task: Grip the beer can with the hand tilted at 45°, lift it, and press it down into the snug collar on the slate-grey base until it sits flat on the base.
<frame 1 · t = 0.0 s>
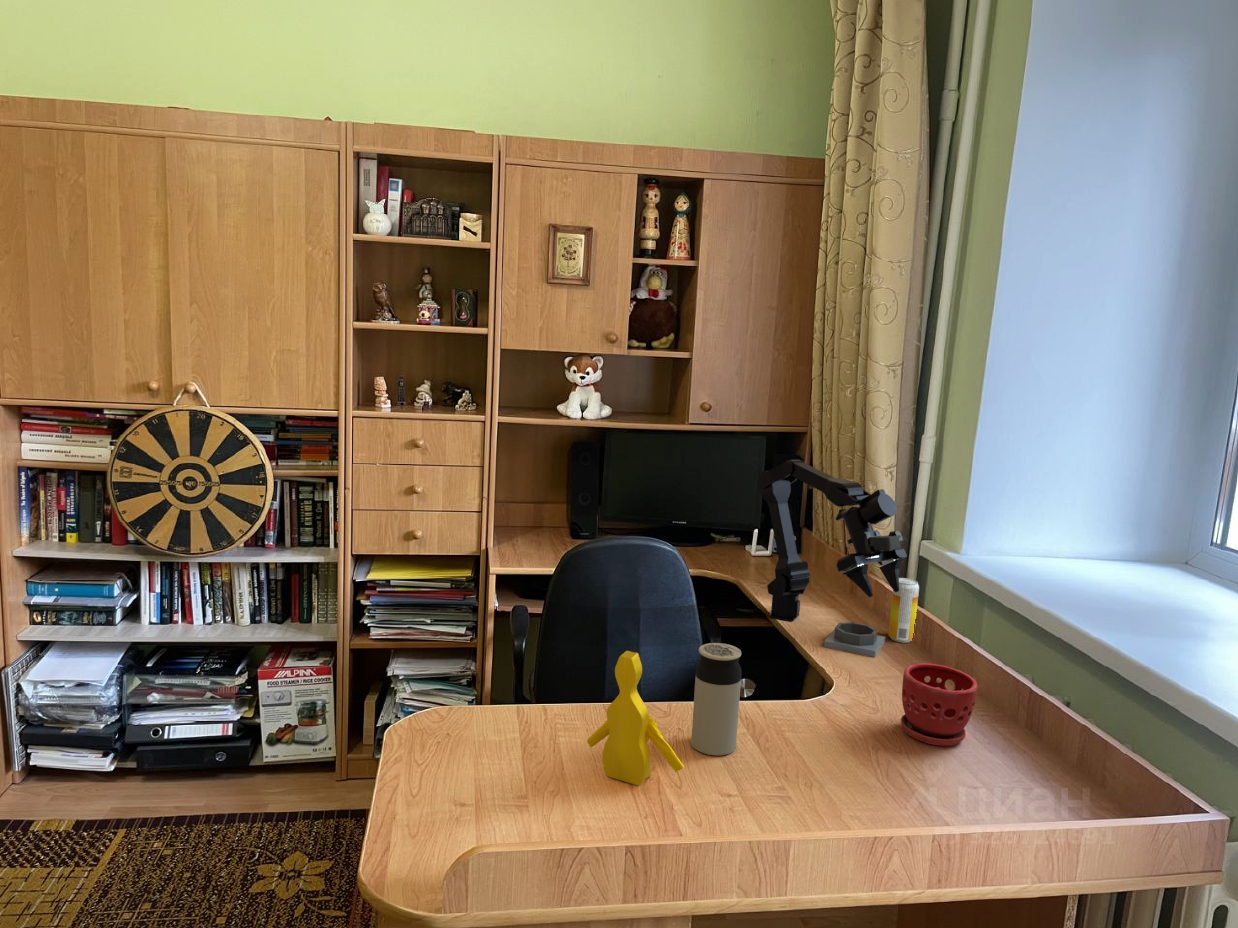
hand: (884, 594, 205), 15 cm above the table, tool tilted 35°, fingers open, 9 cm apart
beer can: (900, 639, 219), on the table
plant pot: (933, 736, 166), on the table
figure statuette: (628, 778, 145), on the table
travel mug: (713, 747, 157), on the table
collar dock: (854, 644, 213), on the table
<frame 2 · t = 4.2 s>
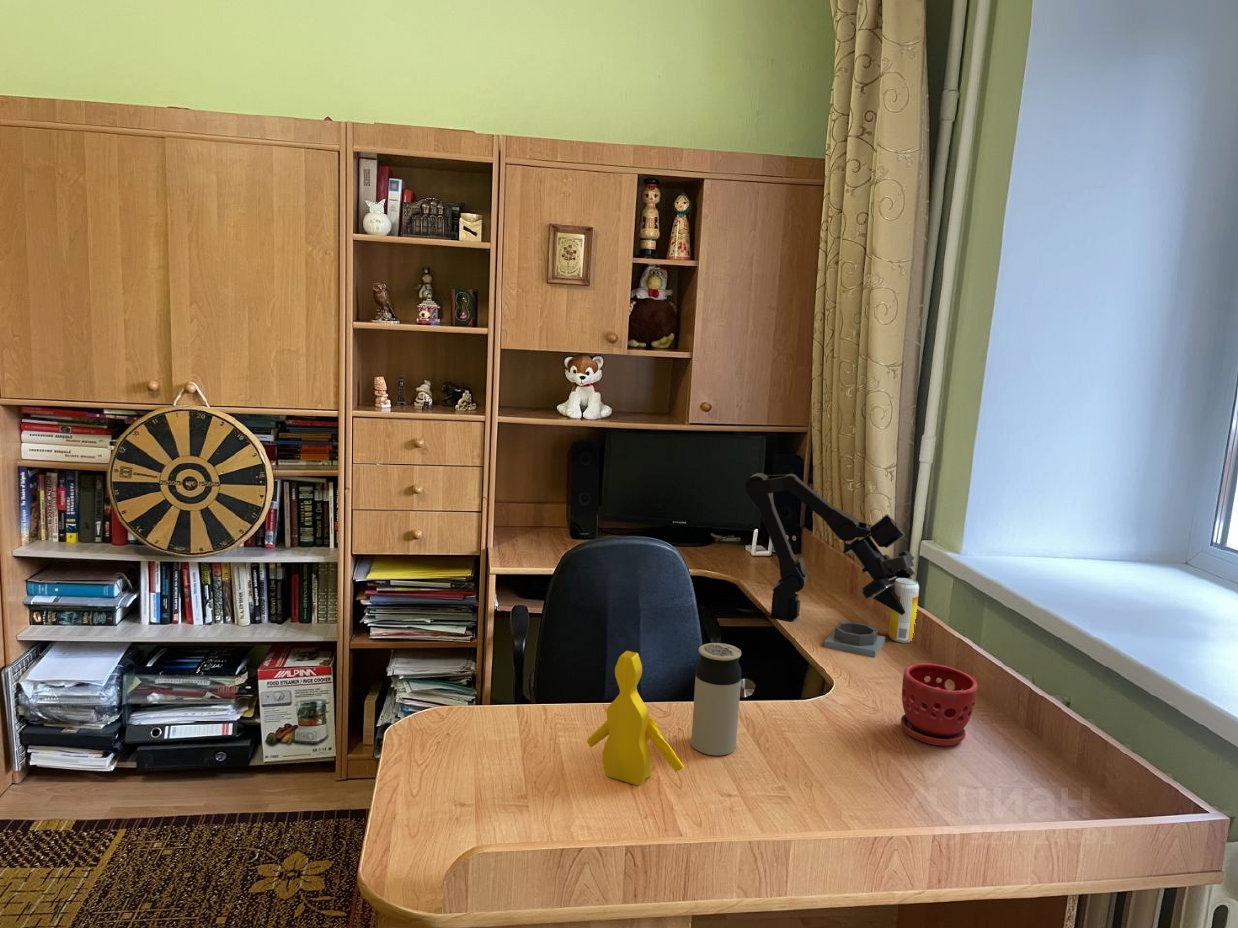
hand: (909, 611, 217), 8 cm above the table, tool tilted 45°, fingers closed on beer can, 6 cm apart
beer can: (900, 639, 219), on the table, touching gripper
everything else where it was.
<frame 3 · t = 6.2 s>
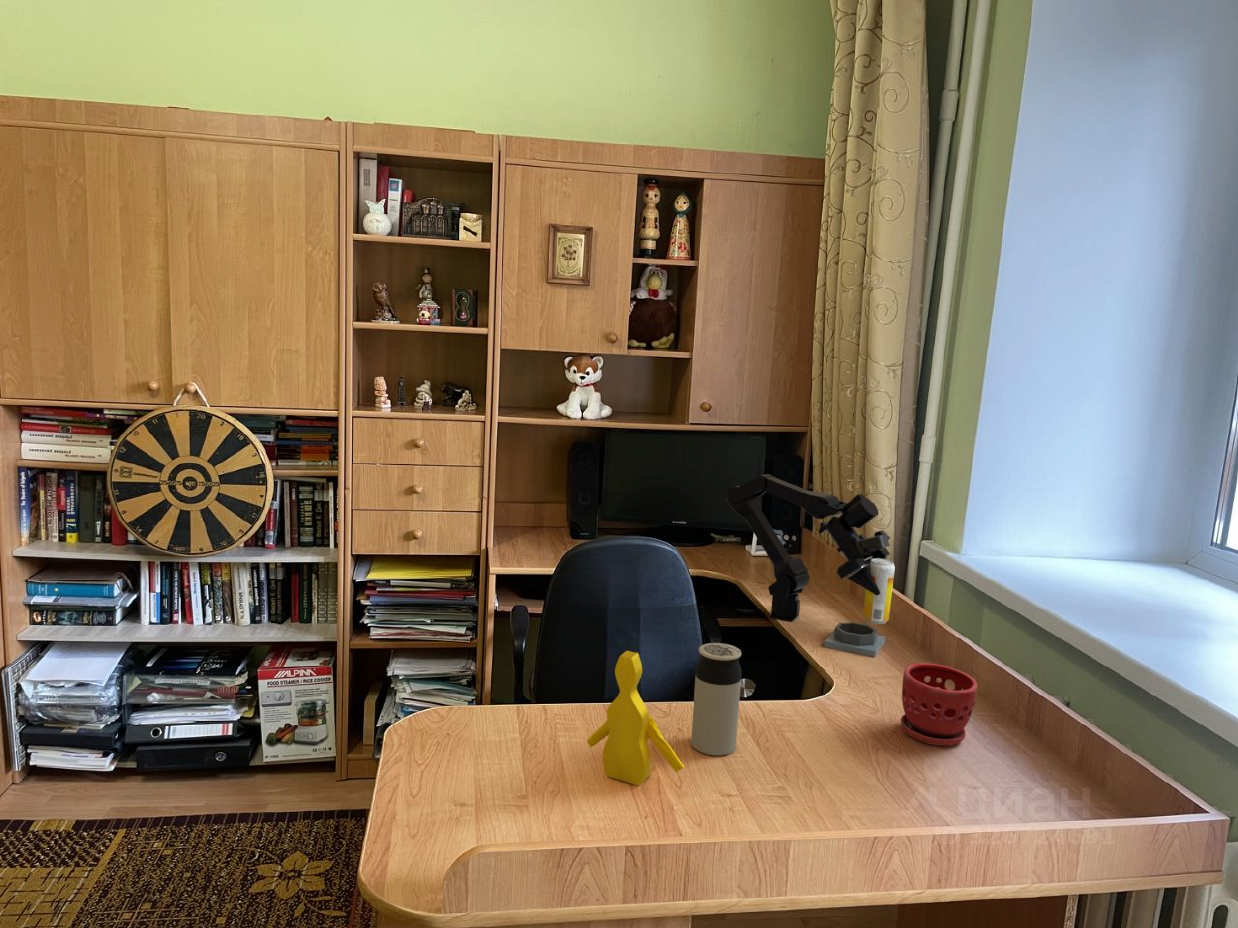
hand: (884, 591, 213), 13 cm above the table, tool tilted 45°, fingers closed on beer can, 6 cm apart
beer can: (875, 621, 215), point 5 cm above the table, touching gripper
everything else where it was.
when the fingers open (9 cm above the table, at t = 8.2 s): beer can stays where it is, resting on collar dock.
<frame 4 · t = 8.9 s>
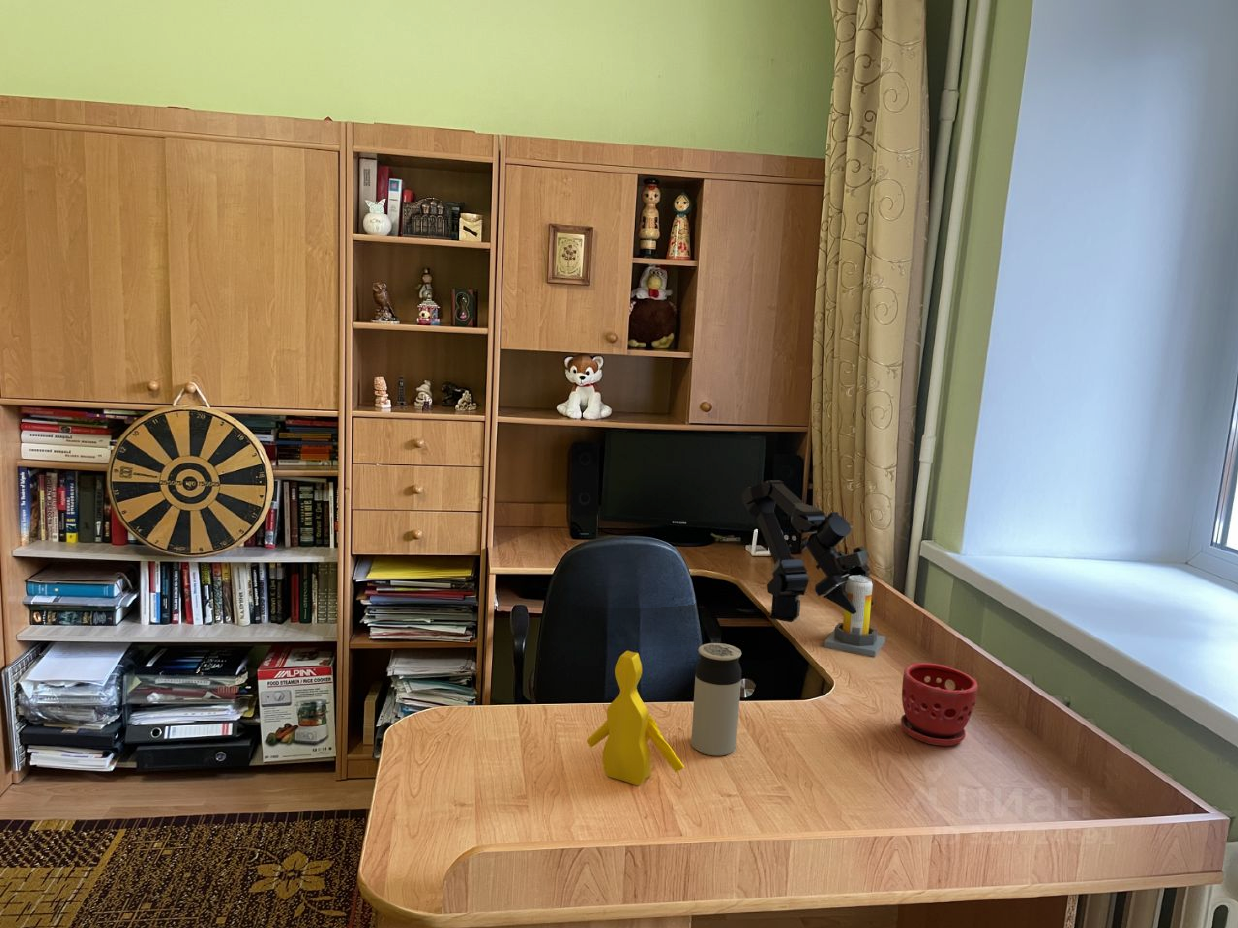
hand: (863, 608, 211), 9 cm above the table, tool tilted 45°, fingers open, 9 cm apart
beer can: (854, 639, 213), point 1 cm above the table, touching collar dock
everything else where it was.
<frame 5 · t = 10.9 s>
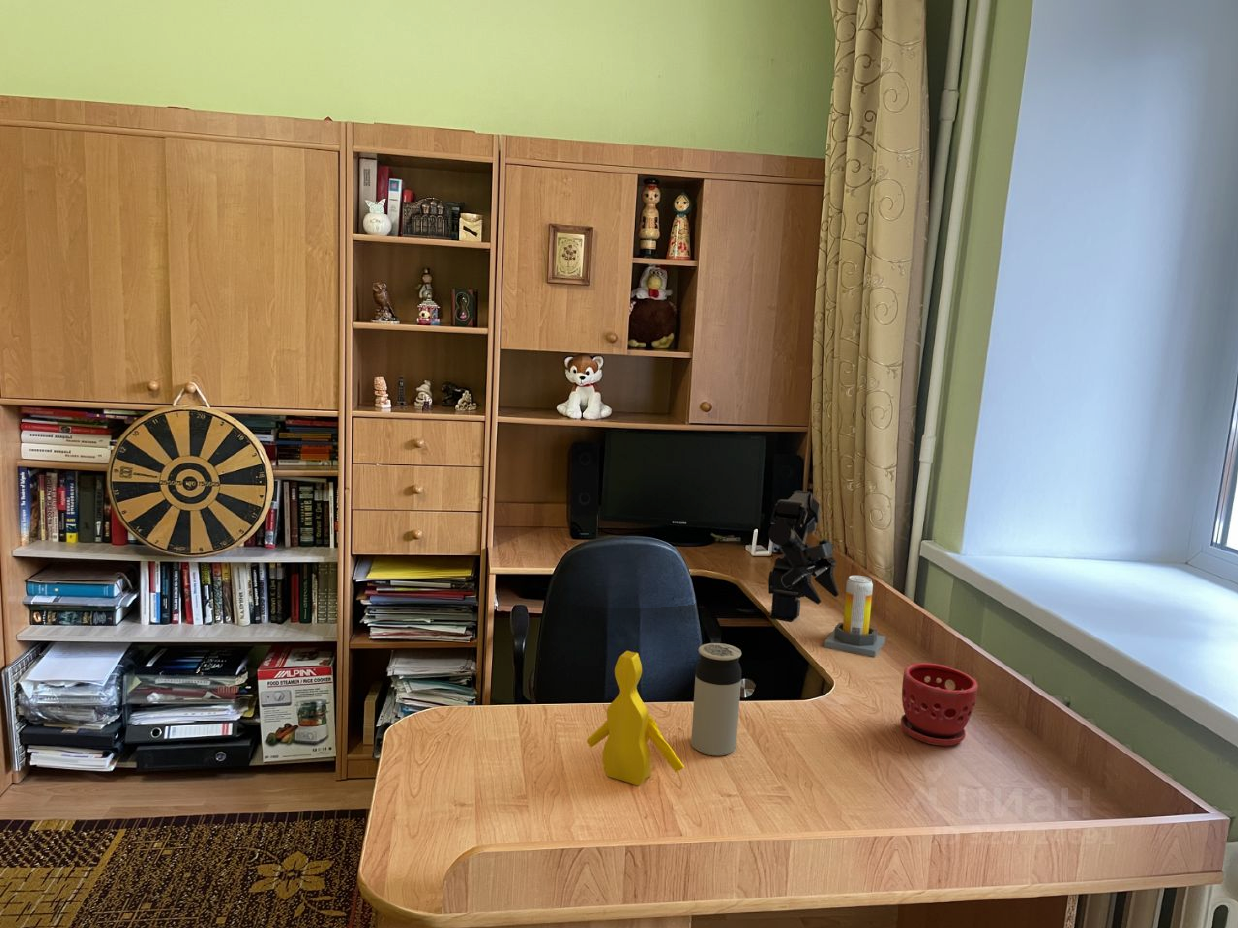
hand: (828, 599, 217), 9 cm above the table, tool tilted 45°, fingers open, 9 cm apart
nothing on the table moved.
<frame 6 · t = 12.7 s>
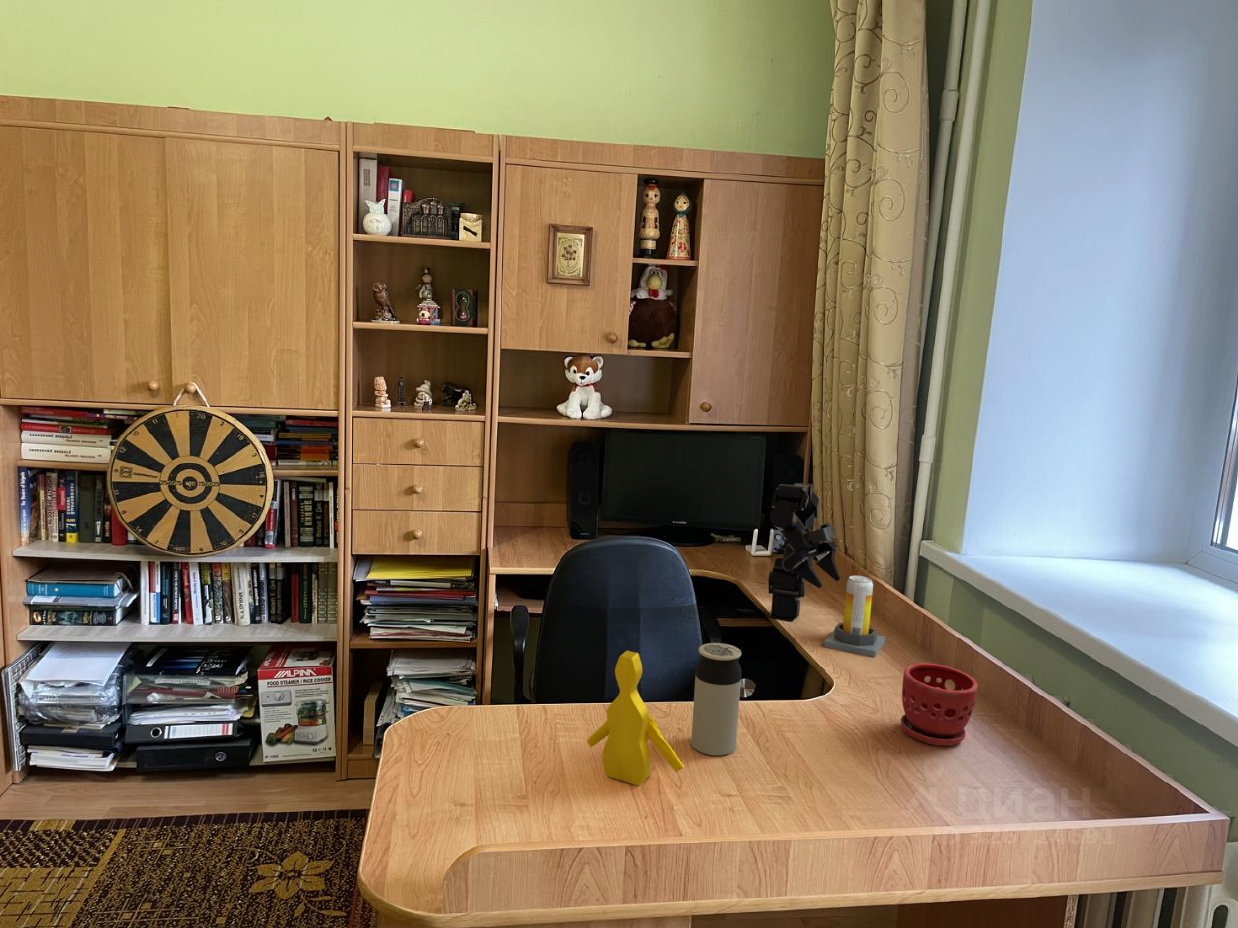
hand: (829, 583, 216), 14 cm above the table, tool tilted 45°, fingers open, 9 cm apart
nothing on the table moved.
at the end: beer can 0.2 cm off-centre on the collar dock, point 1.3 cm above the collar dock's base; beer can tilted 0°; the gripper is holding nothing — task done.
